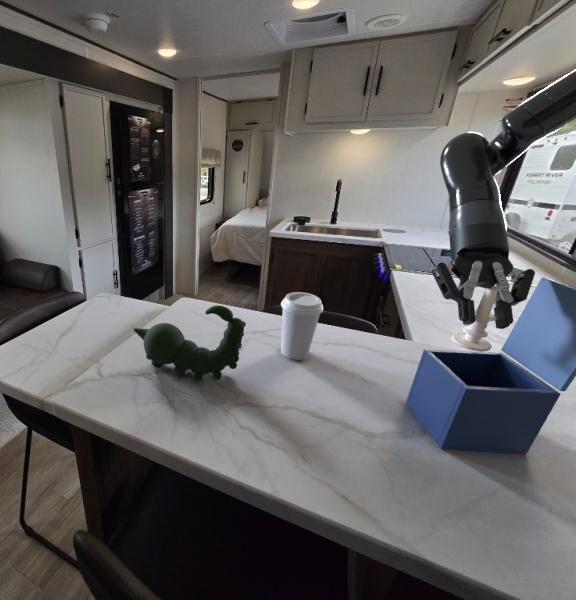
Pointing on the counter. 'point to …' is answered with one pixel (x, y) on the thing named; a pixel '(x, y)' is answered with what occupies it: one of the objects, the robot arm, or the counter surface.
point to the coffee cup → (299, 323)
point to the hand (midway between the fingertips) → (486, 325)
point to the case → (479, 401)
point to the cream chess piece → (478, 325)
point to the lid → (547, 334)
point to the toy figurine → (194, 347)
